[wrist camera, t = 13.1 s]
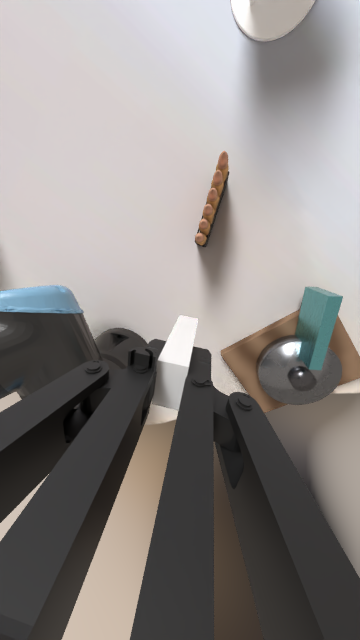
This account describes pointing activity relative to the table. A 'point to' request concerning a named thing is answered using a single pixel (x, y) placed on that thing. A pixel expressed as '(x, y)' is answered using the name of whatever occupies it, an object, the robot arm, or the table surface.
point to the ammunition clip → (213, 200)
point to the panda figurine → (269, 17)
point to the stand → (248, 349)
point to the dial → (304, 354)
